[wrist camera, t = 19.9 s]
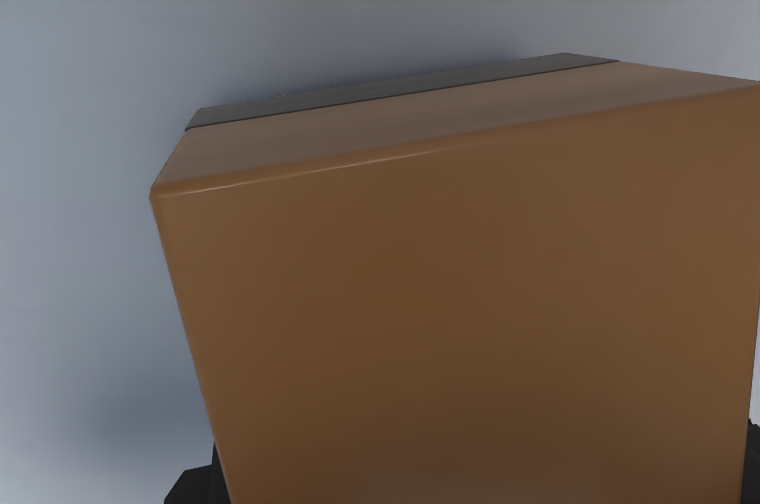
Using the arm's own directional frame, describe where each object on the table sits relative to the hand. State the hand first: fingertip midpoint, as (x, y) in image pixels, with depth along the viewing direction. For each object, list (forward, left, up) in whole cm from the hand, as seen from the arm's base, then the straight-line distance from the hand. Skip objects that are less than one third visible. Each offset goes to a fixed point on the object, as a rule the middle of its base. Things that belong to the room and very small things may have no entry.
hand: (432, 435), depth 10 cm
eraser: (0, 0, 0) cm, 0 cm away
